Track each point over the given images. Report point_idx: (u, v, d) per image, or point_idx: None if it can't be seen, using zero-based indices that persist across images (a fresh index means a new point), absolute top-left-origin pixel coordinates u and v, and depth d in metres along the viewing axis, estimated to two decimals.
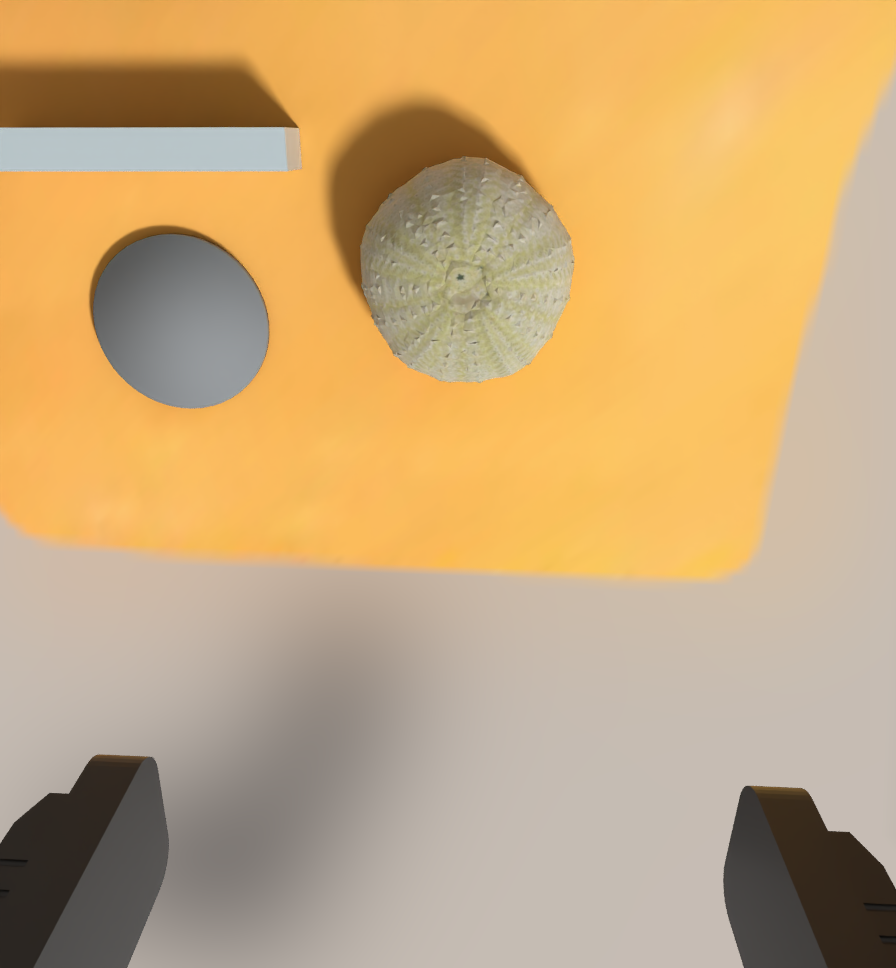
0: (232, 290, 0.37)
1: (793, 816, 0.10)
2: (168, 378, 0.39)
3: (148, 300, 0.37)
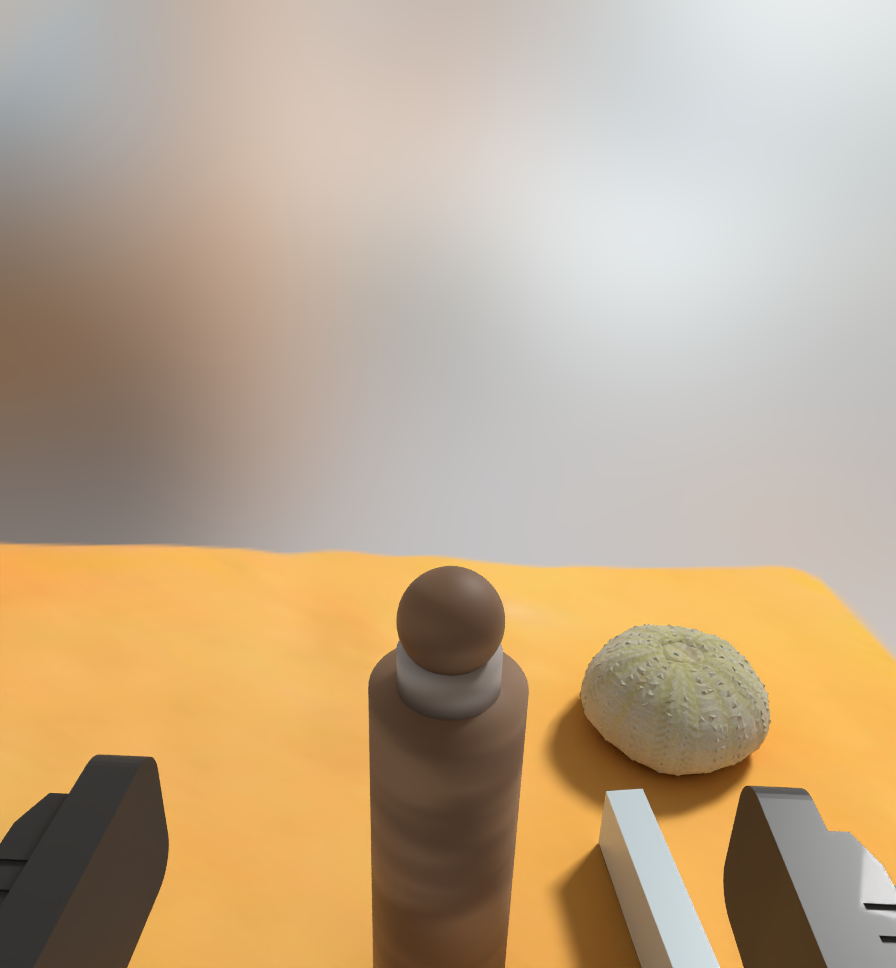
0: None
1: (793, 816, 0.10)
2: None
3: None
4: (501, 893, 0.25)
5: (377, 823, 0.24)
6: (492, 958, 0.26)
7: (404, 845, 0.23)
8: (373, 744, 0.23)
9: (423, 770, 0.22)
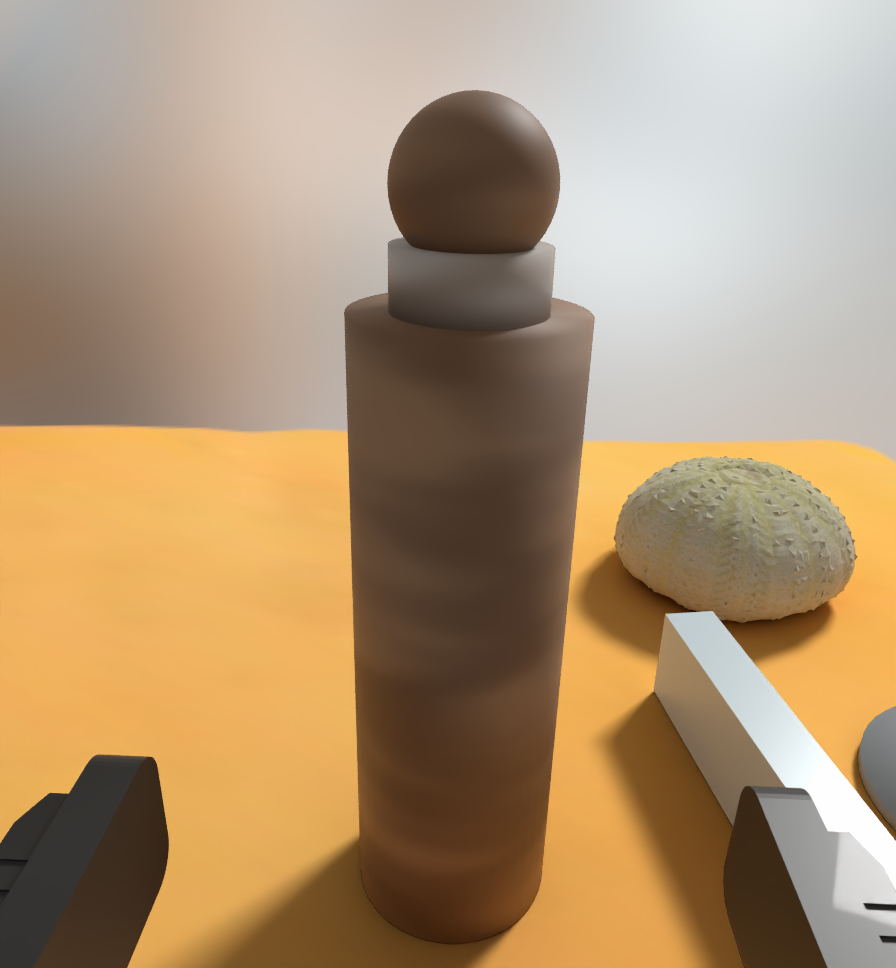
0: None
1: (793, 816, 0.10)
2: None
3: None
4: (550, 664, 0.17)
5: (361, 545, 0.16)
6: (536, 775, 0.18)
7: (403, 562, 0.15)
8: (353, 399, 0.15)
9: (435, 406, 0.14)
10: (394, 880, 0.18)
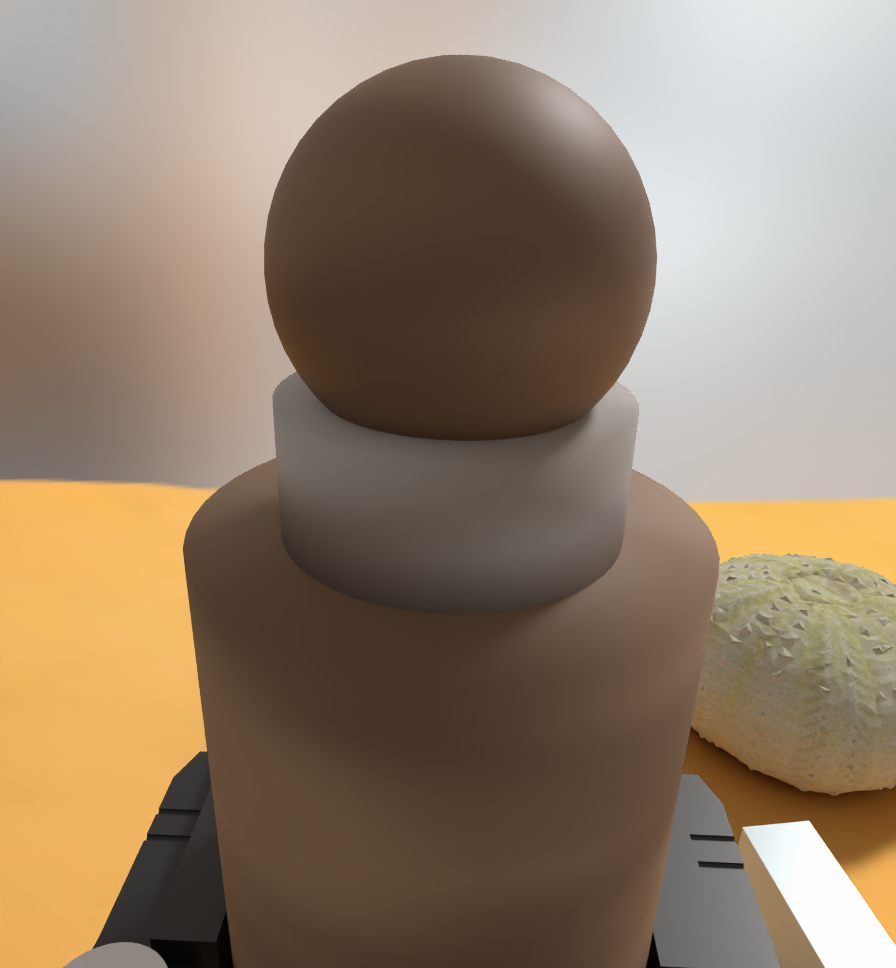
0: None
1: None
2: None
3: None
4: None
5: (238, 966, 0.08)
6: None
7: None
8: (204, 718, 0.07)
9: (366, 806, 0.06)
10: None
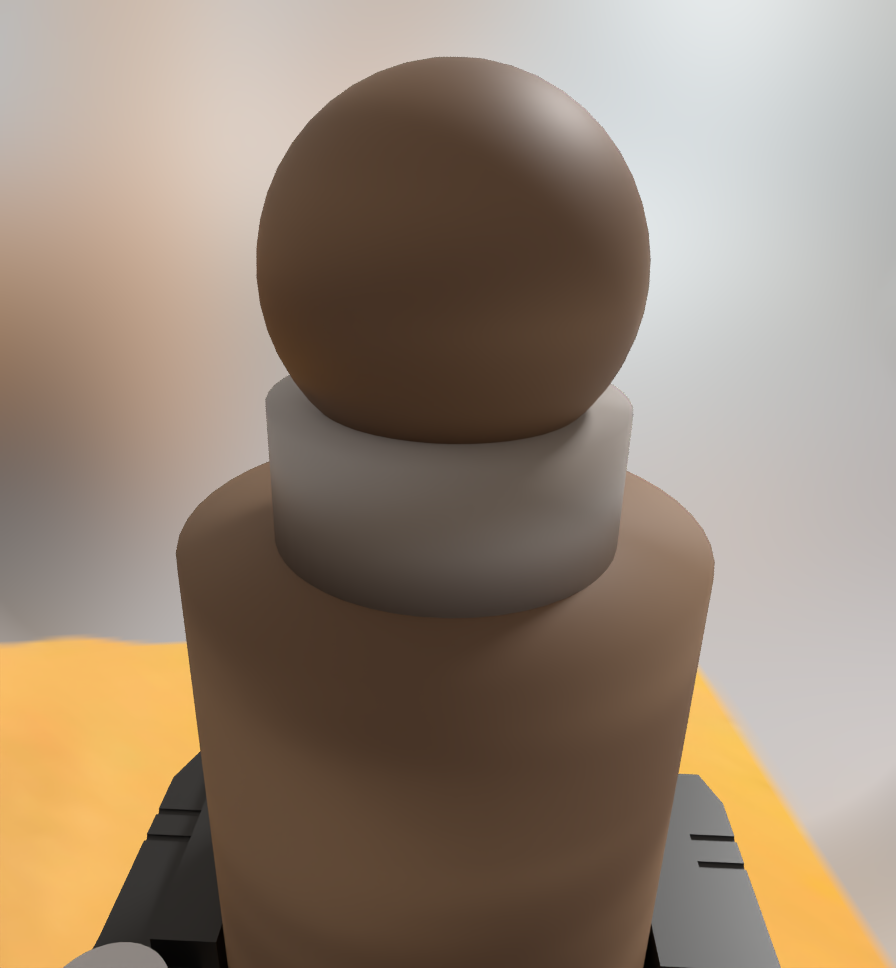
0: None
1: None
2: None
3: None
4: None
5: None
6: None
7: None
8: (197, 722, 0.07)
9: (359, 810, 0.06)
10: None
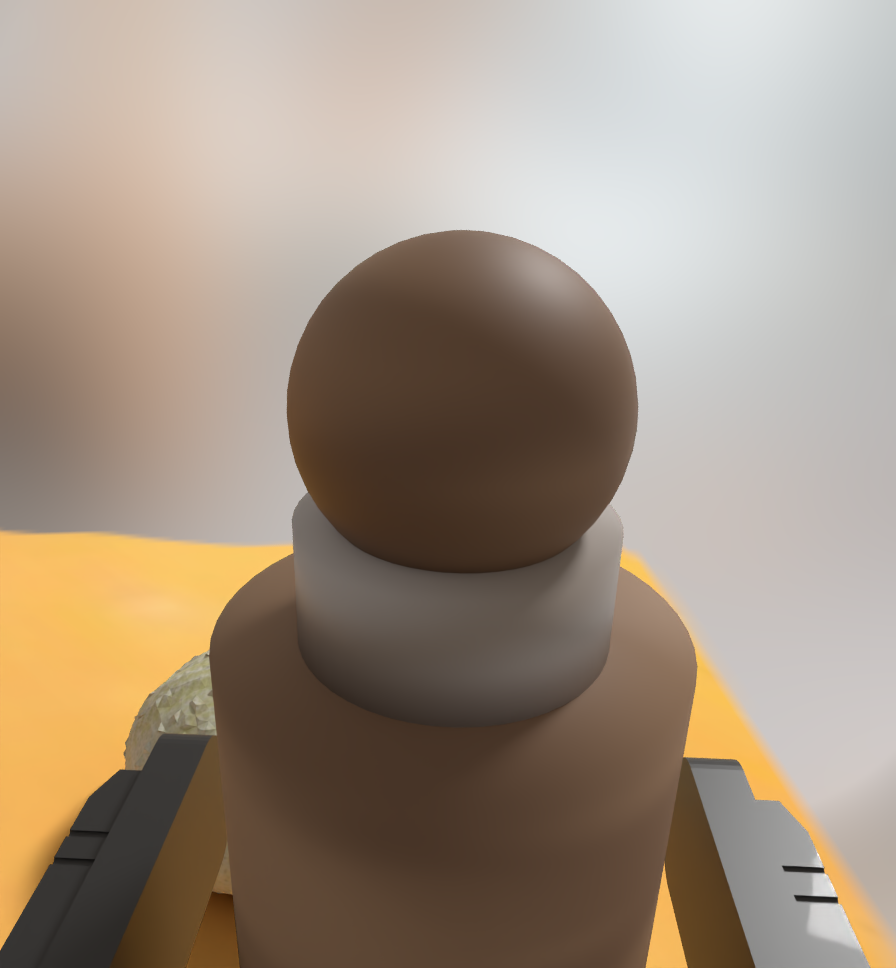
0: None
1: (723, 785, 0.10)
2: None
3: None
4: None
5: None
6: None
7: None
8: (225, 810, 0.08)
9: (375, 903, 0.06)
10: None
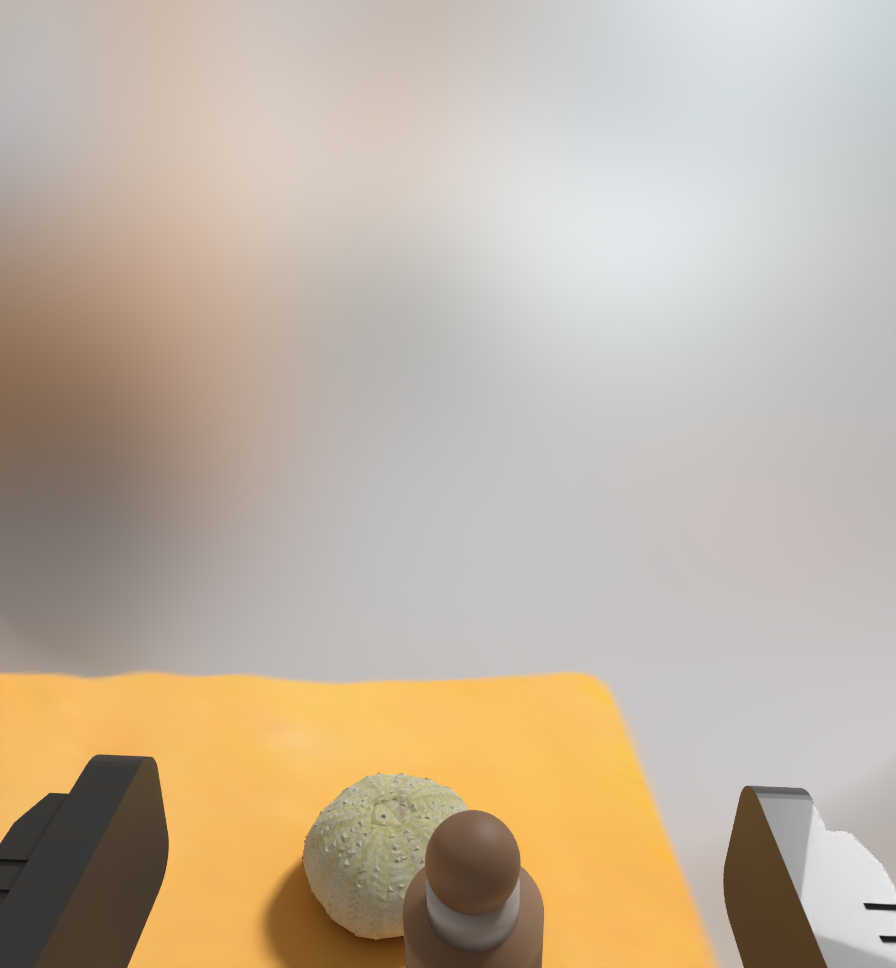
0: None
1: (793, 816, 0.10)
2: None
3: None
4: None
5: None
6: None
7: None
8: (409, 964, 0.26)
9: None
10: None
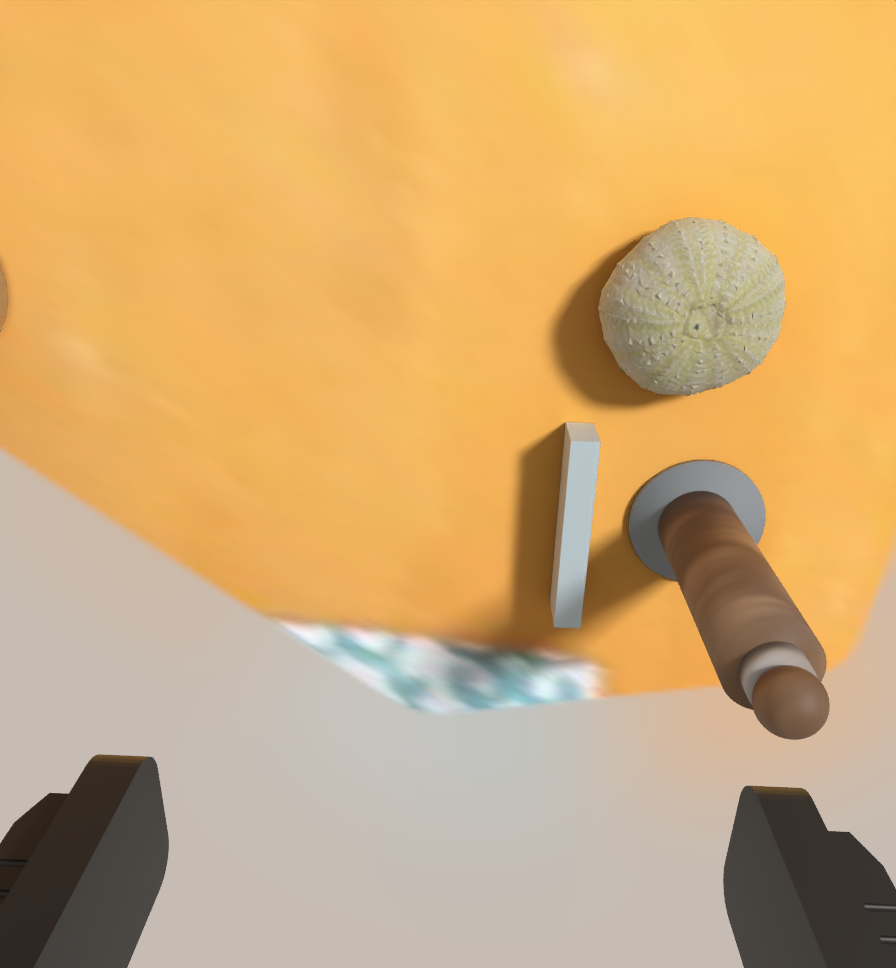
0: (676, 483, 0.48)
1: (793, 816, 0.10)
2: None
3: None
4: None
5: None
6: None
7: None
8: (711, 660, 0.38)
9: None
10: None
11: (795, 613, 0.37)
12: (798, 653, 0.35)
